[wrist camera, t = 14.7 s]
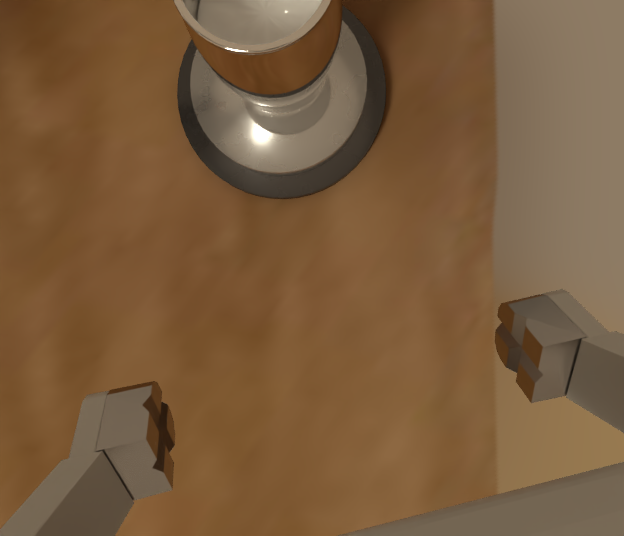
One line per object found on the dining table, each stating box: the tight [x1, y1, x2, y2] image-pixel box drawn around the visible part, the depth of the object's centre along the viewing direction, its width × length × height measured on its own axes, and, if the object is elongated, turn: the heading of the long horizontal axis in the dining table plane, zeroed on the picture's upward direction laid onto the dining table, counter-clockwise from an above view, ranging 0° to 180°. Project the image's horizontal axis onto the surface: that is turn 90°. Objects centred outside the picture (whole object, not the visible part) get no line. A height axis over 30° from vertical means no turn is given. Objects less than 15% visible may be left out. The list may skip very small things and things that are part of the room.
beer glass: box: [173, 0, 342, 135], centre depth 26 cm, size 7×7×15 cm
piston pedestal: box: [177, 5, 386, 199], centre depth 35 cm, size 15×15×3 cm
